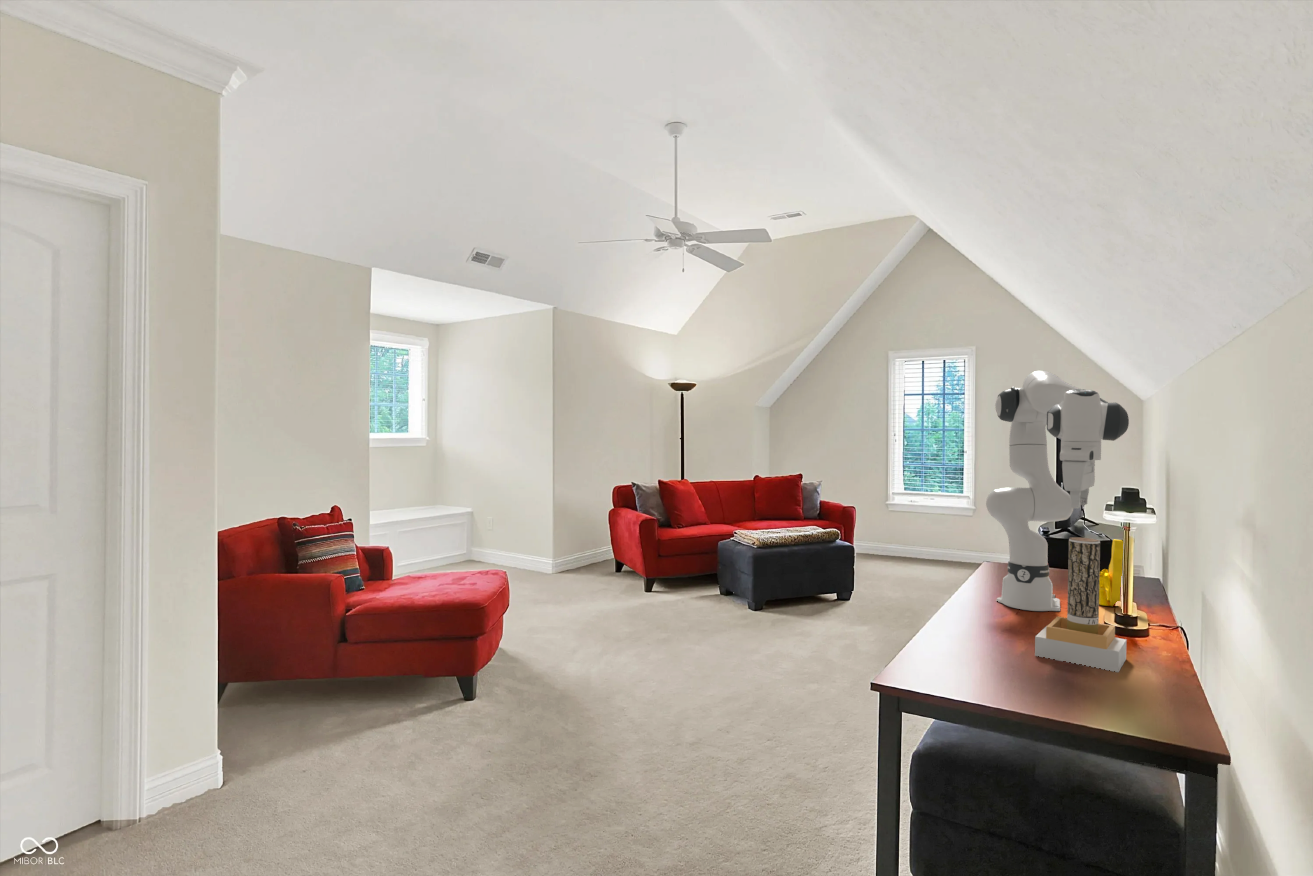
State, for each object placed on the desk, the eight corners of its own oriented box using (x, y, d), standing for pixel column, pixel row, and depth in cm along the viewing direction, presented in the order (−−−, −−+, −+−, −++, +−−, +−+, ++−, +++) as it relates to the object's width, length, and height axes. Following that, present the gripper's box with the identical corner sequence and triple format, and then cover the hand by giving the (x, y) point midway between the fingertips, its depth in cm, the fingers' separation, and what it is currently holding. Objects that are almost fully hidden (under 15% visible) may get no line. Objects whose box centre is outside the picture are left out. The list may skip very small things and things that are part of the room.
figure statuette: (1089, 598, 240) (1091, 534, 240) (1116, 600, 237) (1117, 536, 237) (1101, 610, 224) (1102, 542, 223) (1129, 613, 221) (1131, 544, 220)
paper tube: (1064, 637, 177) (1066, 539, 176) (1070, 631, 182) (1072, 536, 181) (1095, 643, 172) (1097, 542, 172) (1100, 637, 177) (1102, 539, 177)
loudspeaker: (1046, 644, 188) (1046, 614, 188) (1126, 659, 176) (1126, 627, 176) (1034, 655, 178) (1035, 624, 178) (1118, 672, 166) (1119, 639, 166)
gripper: (1074, 451, 188) (1073, 501, 188) (1058, 453, 172) (1057, 509, 173) (1101, 451, 184) (1100, 503, 184) (1087, 454, 168) (1086, 511, 168)
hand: (1079, 506), depth 178 cm, fingers open, 8 cm apart
